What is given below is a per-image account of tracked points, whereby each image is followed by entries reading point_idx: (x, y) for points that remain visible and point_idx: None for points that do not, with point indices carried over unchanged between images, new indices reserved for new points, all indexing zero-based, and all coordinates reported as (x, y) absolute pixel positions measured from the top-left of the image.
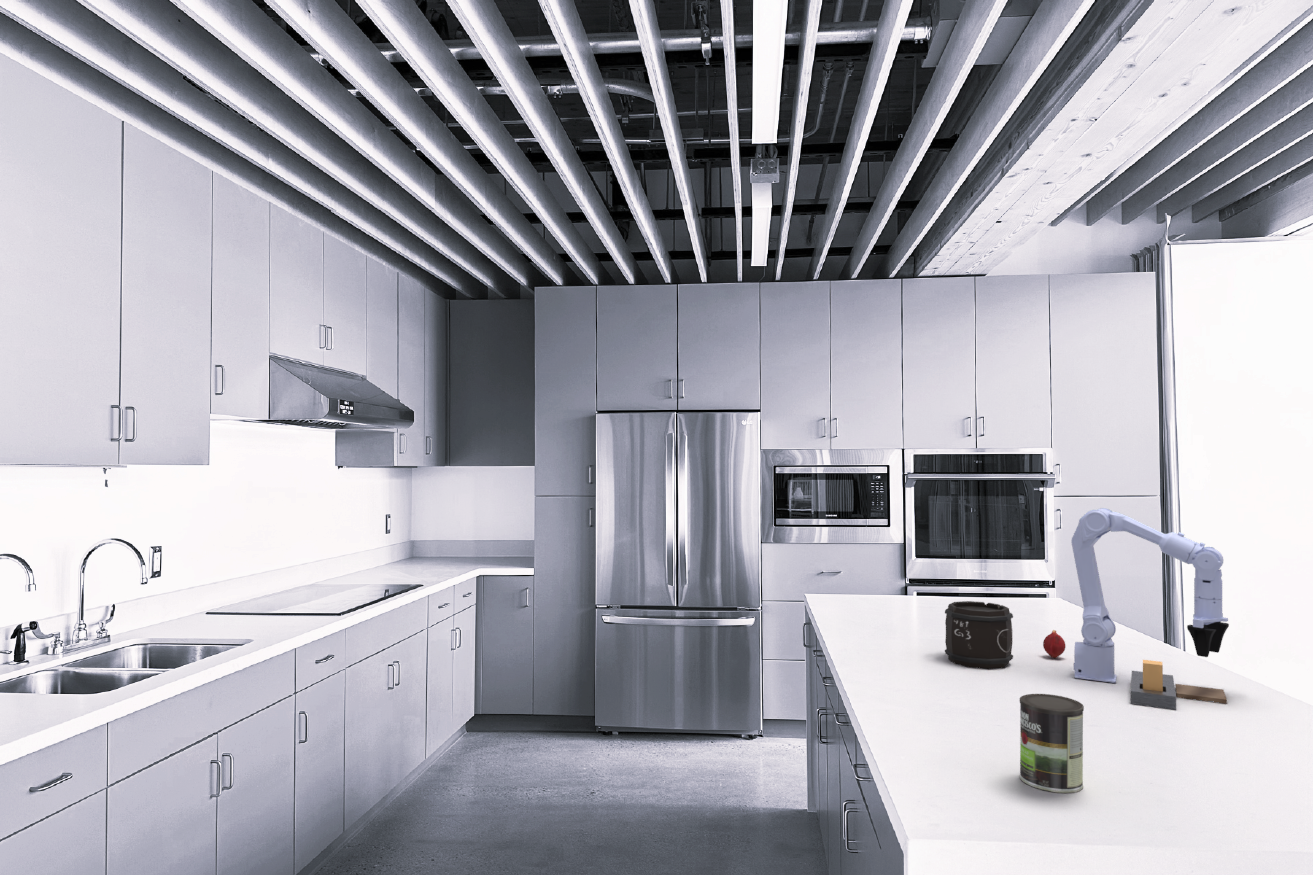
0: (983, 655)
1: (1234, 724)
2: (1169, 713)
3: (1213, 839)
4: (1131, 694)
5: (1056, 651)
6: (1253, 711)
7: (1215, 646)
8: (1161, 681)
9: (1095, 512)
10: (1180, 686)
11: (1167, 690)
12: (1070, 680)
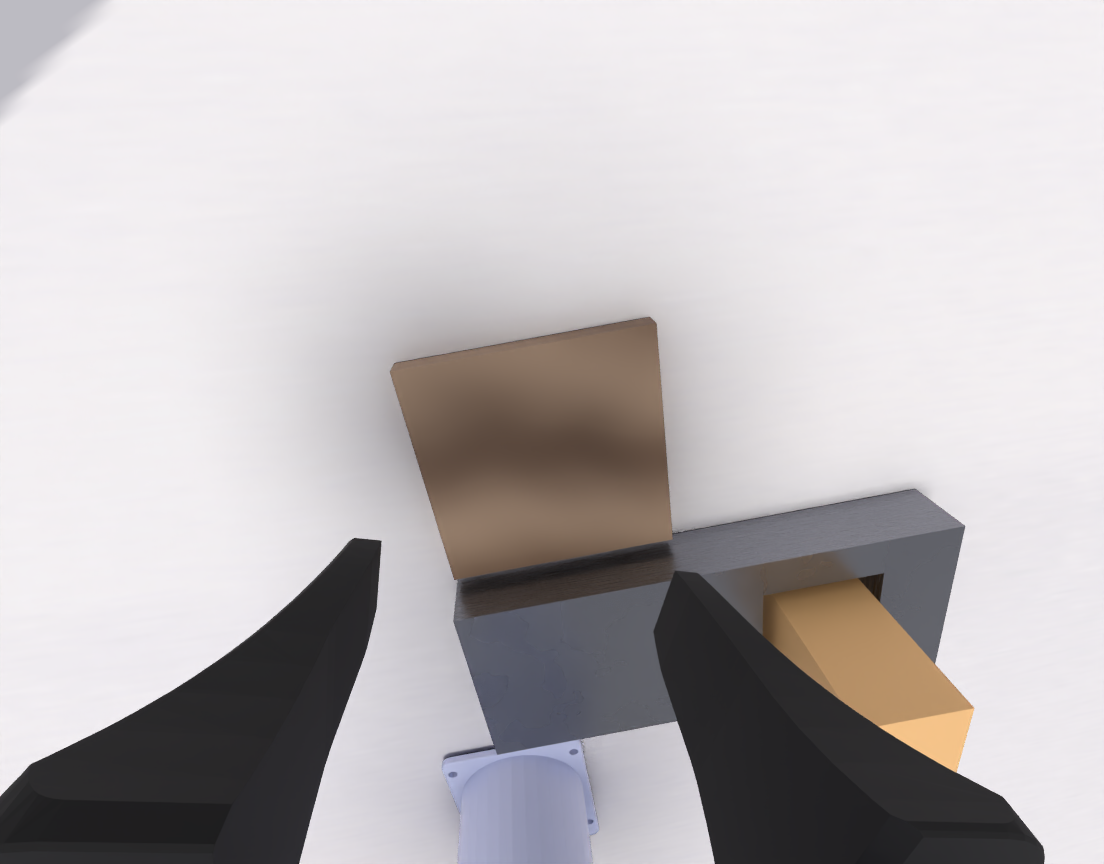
0: None
1: (1091, 234)
2: (988, 497)
3: None
4: None
5: None
6: (746, 164)
7: (365, 601)
8: (899, 628)
9: None
10: (501, 551)
11: (844, 575)
12: (636, 821)
